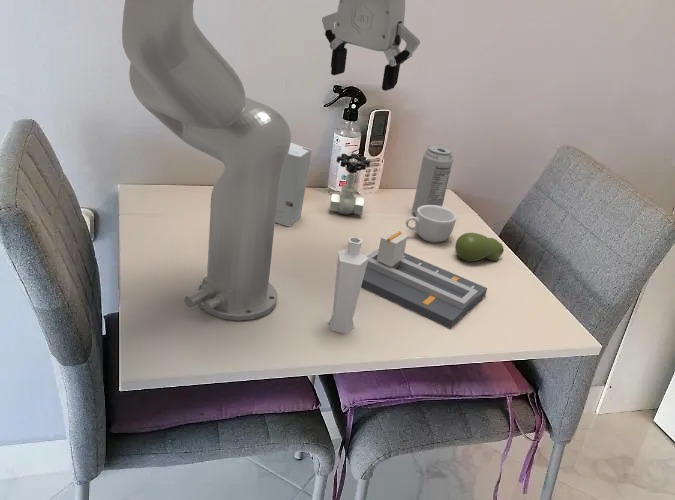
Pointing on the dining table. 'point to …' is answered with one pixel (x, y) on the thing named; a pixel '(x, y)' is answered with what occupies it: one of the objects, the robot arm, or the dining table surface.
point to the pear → (478, 247)
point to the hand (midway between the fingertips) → (362, 81)
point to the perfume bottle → (348, 285)
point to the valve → (349, 186)
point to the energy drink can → (433, 177)
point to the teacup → (433, 222)
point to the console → (423, 288)
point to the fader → (392, 249)
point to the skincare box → (292, 185)
